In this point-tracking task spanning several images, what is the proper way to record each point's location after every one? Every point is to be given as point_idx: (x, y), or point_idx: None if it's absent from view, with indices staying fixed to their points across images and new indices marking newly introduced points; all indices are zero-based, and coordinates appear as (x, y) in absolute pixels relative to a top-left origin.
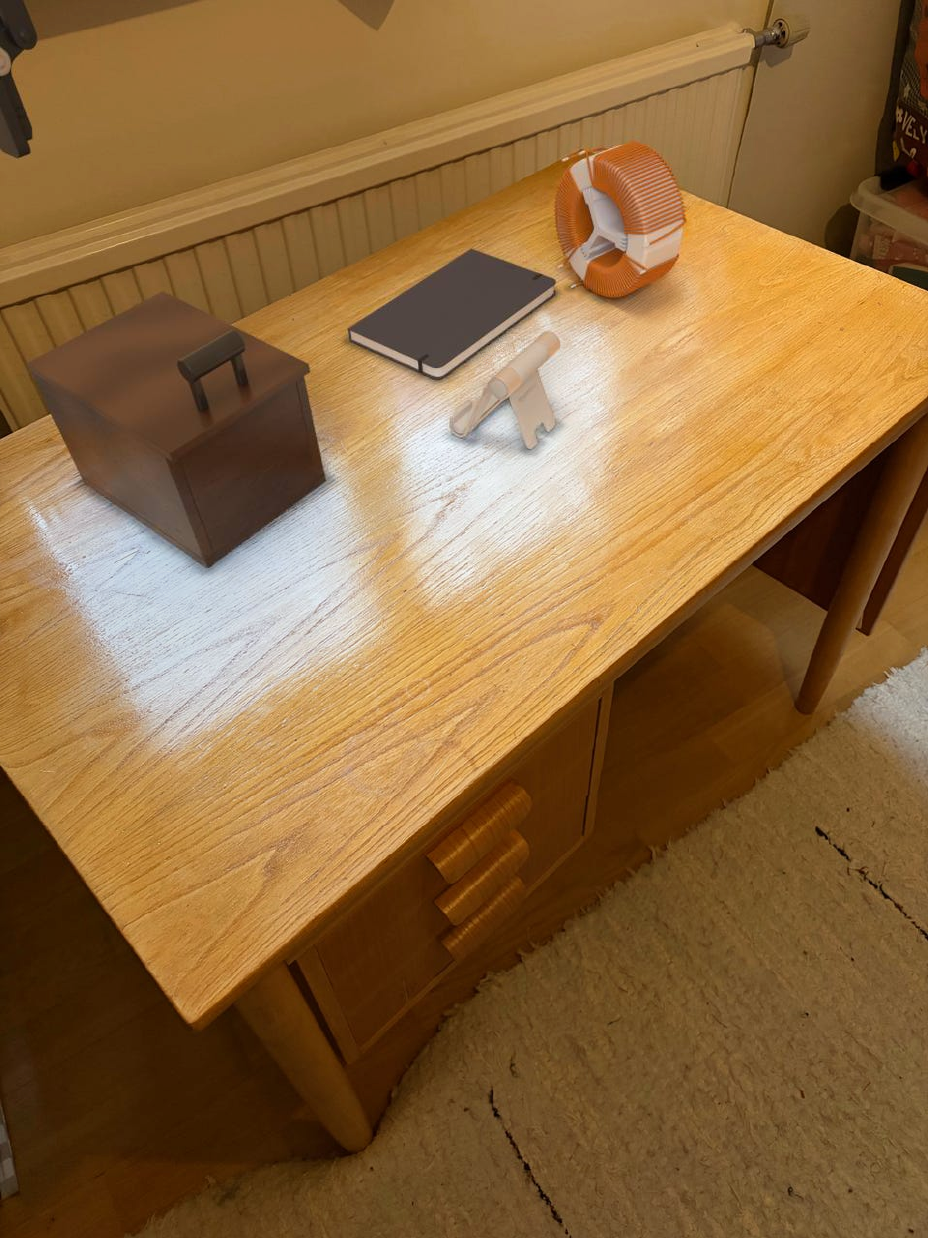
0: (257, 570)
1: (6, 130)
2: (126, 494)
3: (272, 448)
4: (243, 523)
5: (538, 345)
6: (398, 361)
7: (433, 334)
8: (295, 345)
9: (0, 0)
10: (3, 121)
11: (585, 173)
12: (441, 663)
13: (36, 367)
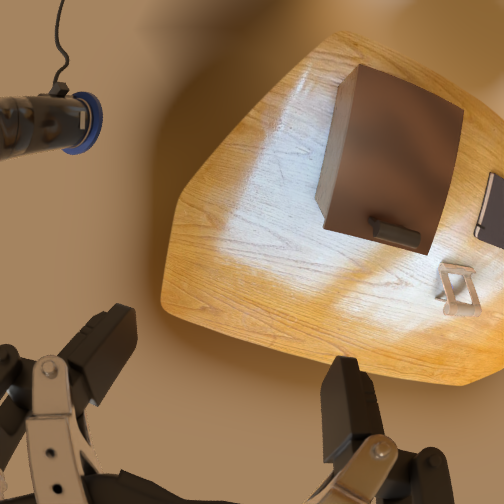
0: None
1: (324, 407)
2: (331, 136)
3: None
4: None
5: (471, 314)
6: (481, 208)
7: (497, 222)
8: (479, 142)
9: None
10: (324, 418)
11: None
12: (307, 321)
13: (359, 74)
